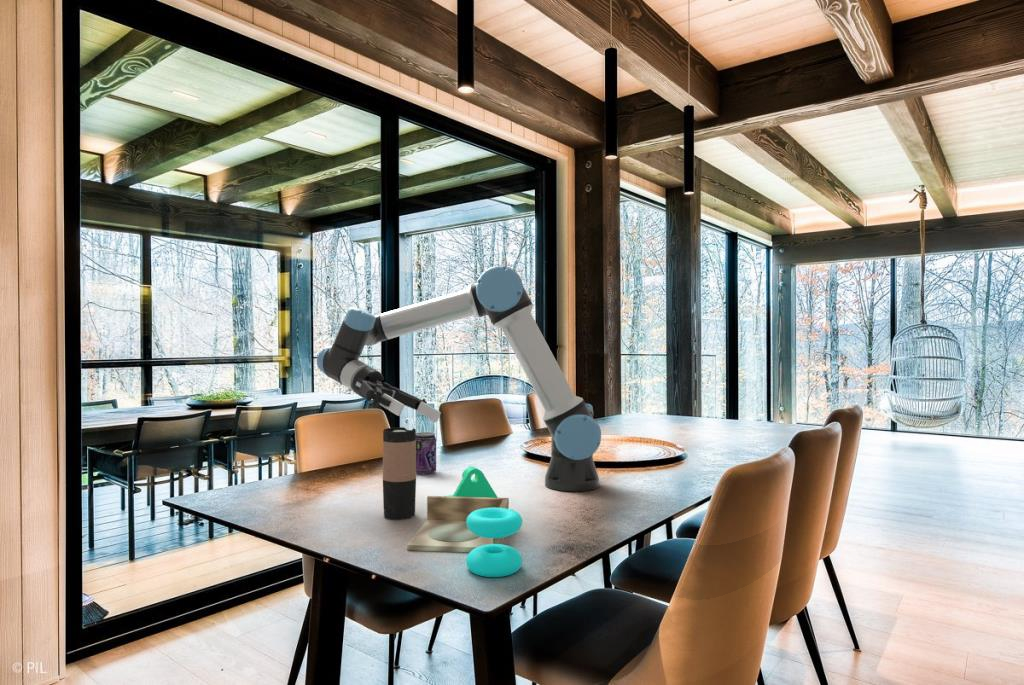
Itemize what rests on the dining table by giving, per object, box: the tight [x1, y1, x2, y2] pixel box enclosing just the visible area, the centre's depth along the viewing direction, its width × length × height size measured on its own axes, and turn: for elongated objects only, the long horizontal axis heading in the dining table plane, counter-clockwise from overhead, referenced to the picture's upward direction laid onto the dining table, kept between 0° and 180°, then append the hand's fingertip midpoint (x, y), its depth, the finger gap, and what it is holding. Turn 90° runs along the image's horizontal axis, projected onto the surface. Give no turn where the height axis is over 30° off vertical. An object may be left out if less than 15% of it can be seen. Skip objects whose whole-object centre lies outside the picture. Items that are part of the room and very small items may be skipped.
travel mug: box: [382, 426, 417, 521], centre depth 143 cm, size 8×8×20 cm
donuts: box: [465, 507, 523, 578], centre depth 110 cm, size 10×10×10 cm
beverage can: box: [416, 431, 437, 475], centre depth 190 cm, size 7×7×12 cm
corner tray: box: [406, 495, 510, 553], centre depth 128 cm, size 18×18×6 cm
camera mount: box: [447, 465, 499, 498], centre depth 151 cm, size 12×8×10 cm, turn 113°
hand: (420, 414), depth 144 cm, fingers open, 13 cm apart
